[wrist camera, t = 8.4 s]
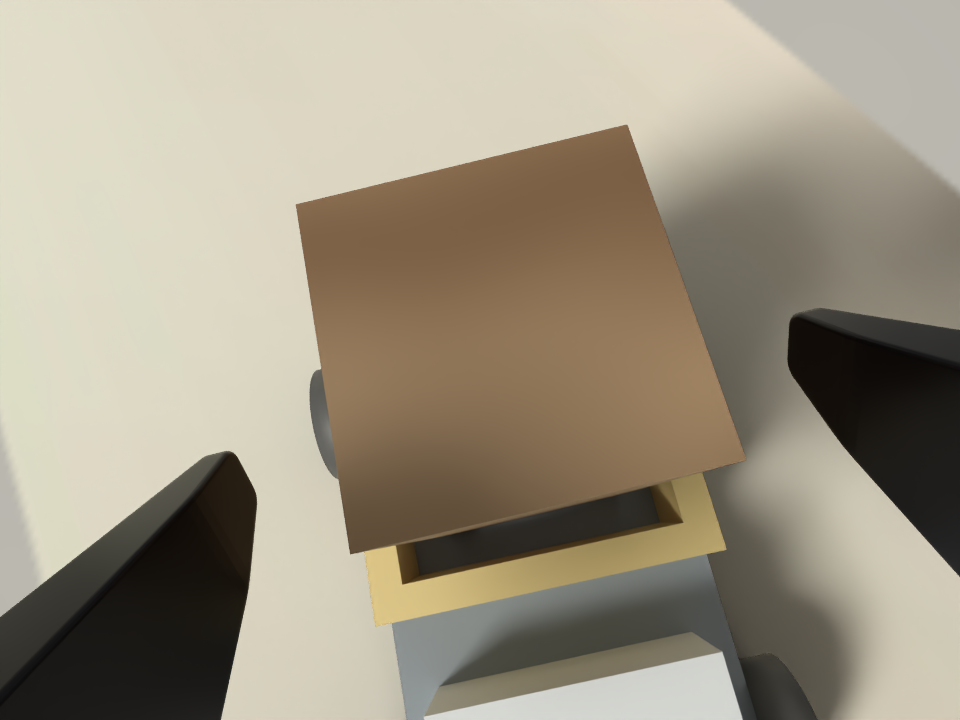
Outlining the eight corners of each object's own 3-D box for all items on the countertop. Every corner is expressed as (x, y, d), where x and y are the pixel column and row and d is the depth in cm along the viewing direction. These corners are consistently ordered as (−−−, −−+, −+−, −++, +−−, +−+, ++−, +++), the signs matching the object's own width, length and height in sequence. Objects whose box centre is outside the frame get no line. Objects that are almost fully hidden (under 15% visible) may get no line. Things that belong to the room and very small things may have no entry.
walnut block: (617, 495, 17) (746, 459, 7) (449, 534, 17) (349, 554, 7) (571, 335, 18) (626, 124, 8) (416, 372, 18) (296, 204, 8)
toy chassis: (801, 810, 17) (922, 934, 12) (414, 893, 17) (368, 1051, 12) (639, 292, 21) (675, 221, 16) (335, 360, 21) (278, 311, 16)
